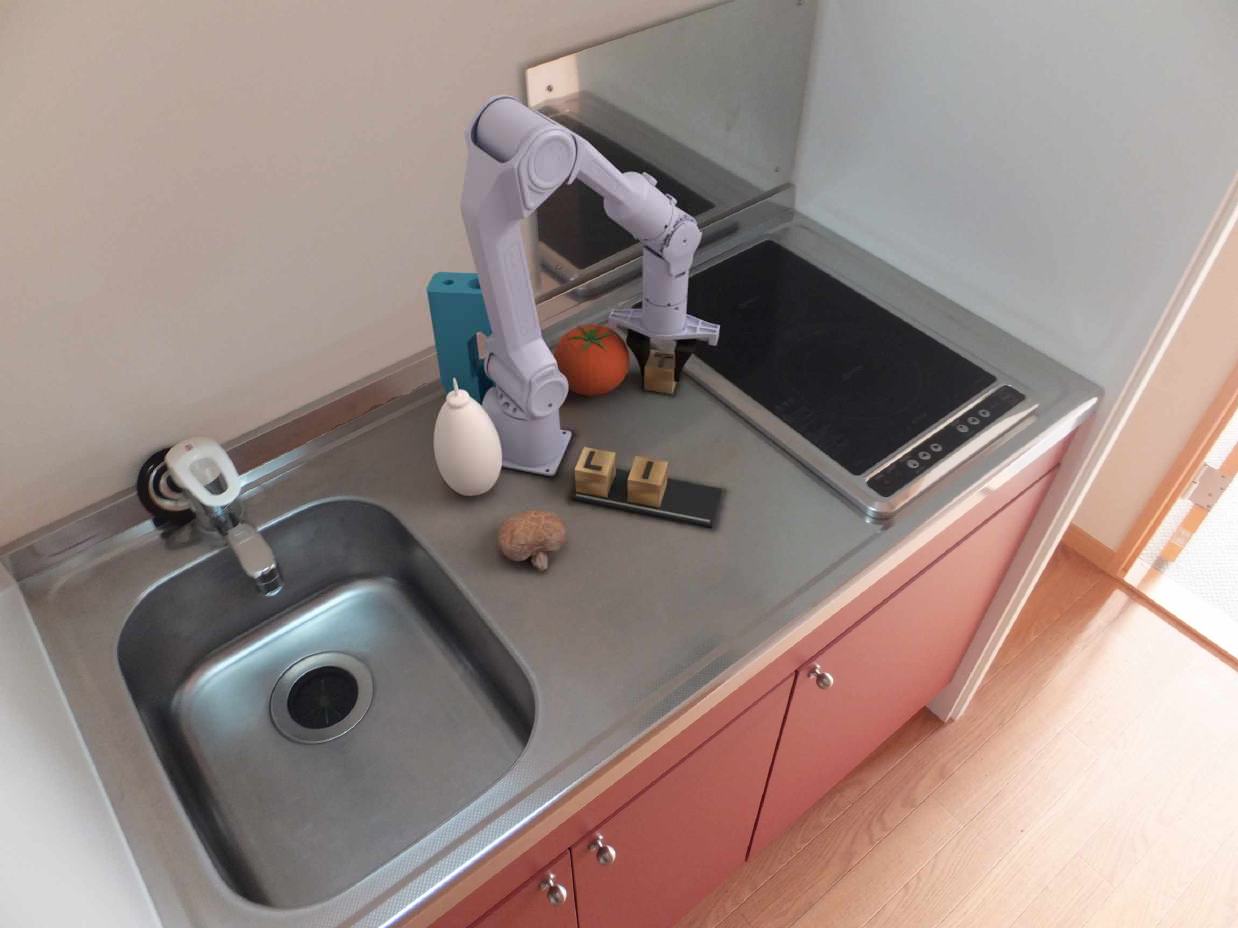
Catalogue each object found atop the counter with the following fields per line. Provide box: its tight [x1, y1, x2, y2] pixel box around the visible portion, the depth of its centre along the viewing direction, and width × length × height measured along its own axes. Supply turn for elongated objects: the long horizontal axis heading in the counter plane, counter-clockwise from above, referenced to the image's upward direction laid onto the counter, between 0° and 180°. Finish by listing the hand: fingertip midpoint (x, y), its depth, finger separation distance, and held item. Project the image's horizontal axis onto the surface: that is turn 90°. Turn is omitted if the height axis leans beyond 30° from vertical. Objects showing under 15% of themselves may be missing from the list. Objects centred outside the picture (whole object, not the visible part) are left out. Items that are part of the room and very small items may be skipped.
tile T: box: [643, 349, 677, 395], centre depth 120 cm, size 4×4×4 cm
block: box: [426, 271, 532, 406], centre depth 111 cm, size 12×5×20 cm, turn 86°
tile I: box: [628, 455, 669, 507], centre depth 105 cm, size 4×4×4 cm
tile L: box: [574, 446, 617, 498], centre depth 107 cm, size 4×4×4 cm
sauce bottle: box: [433, 378, 502, 497], centre depth 102 cm, size 8×8×18 cm
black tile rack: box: [571, 468, 722, 529], centre depth 107 cm, size 17×6×1 cm, turn 75°
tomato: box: [553, 322, 631, 397], centre depth 118 cm, size 10×10×10 cm
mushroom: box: [497, 509, 567, 572], centre depth 100 cm, size 8×6×8 cm
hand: (662, 374), depth 121 cm, fingers closed on tile T, 4 cm apart
